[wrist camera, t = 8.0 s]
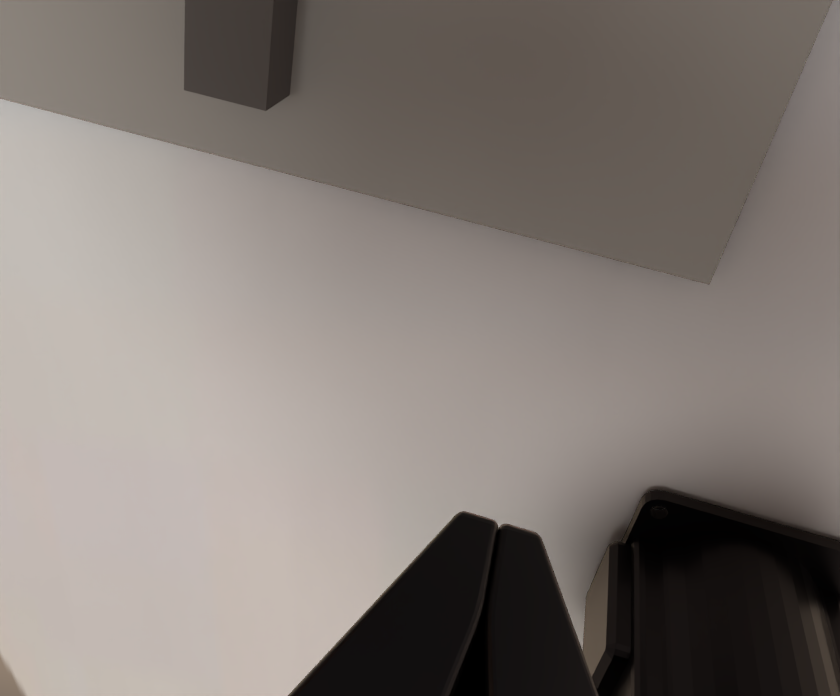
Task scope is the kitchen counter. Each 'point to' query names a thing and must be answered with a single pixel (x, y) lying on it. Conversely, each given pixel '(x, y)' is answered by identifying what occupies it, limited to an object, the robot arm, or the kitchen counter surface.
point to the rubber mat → (450, 102)
